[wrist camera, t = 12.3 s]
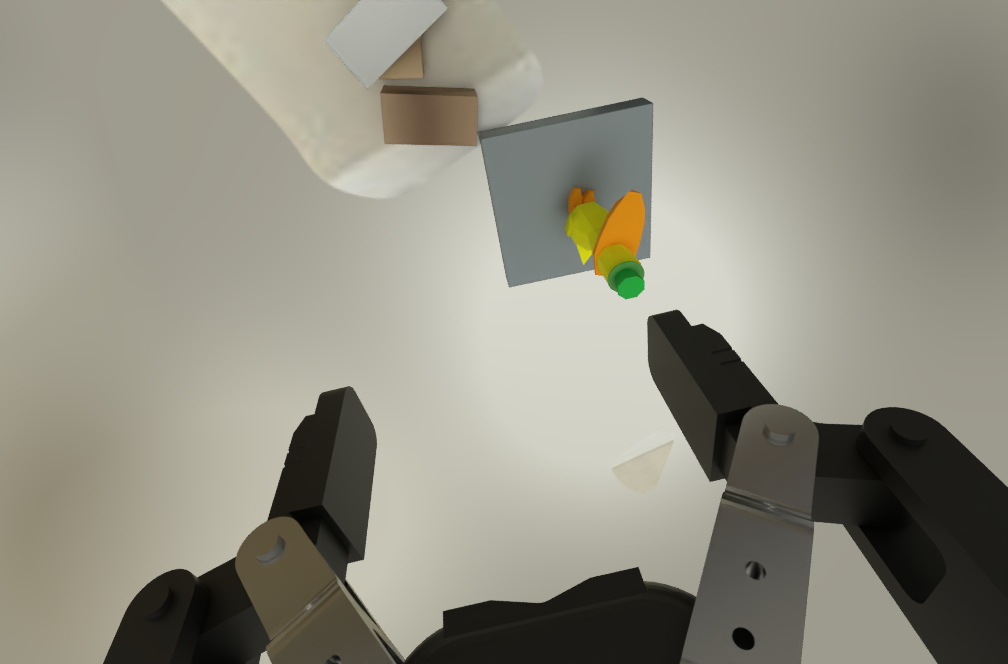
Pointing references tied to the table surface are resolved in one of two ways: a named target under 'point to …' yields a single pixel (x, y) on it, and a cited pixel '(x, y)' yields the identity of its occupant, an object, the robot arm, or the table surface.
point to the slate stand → (564, 182)
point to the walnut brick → (429, 115)
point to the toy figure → (609, 238)
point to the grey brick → (380, 34)
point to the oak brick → (407, 64)
